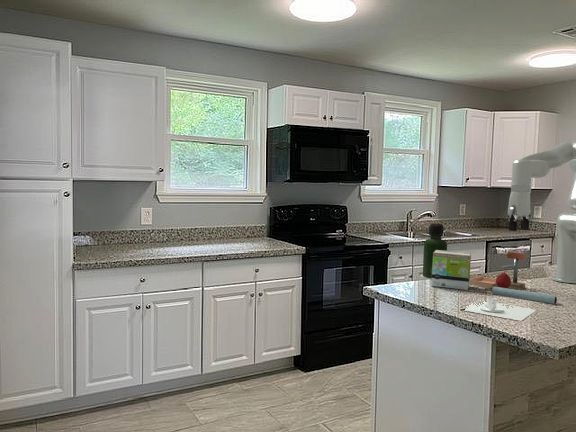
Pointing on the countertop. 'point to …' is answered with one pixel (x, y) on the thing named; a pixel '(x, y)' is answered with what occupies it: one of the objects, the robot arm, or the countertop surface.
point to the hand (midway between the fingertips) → (518, 230)
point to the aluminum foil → (525, 295)
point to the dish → (483, 282)
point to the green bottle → (432, 247)
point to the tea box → (451, 269)
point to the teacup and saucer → (500, 310)
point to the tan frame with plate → (512, 286)
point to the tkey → (515, 265)
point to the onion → (503, 280)
